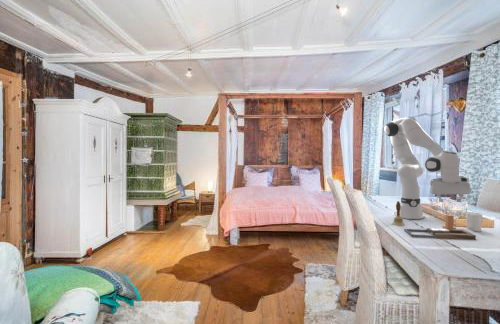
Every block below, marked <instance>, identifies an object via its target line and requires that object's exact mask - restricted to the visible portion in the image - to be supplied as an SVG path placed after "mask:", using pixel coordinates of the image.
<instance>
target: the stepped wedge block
mask: <svg viewBox="0 0 500 324" xmlns="http://www.w3.org/2000/svg"><path fill="white" fill-rule="evenodd" d="M454 217H455V216H454V215H453V214H445V216H444V219H445V220H444V225H442V229H457V228H456V227H455V226H454Z"/></svg>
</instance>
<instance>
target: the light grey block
mask: <svg viewBox="0 0 500 324" xmlns="http://www.w3.org/2000/svg"><path fill="white" fill-rule="evenodd" d="M438 229H439V230H441V233H450V231H449V230H447V229H443V228H438Z"/></svg>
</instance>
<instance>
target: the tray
mask: <svg viewBox="0 0 500 324" xmlns="http://www.w3.org/2000/svg"><path fill="white" fill-rule="evenodd" d="M403 230H404V232H405V233H406V234H407V235H409V236H410V237H411V238H425V239H427V238H428V239H429V238H431V239H437V238H436V235H431V234H413V233H415V232H416V233H417V232H418V233H428V232H427V229H421V228H419V229H418V228H417V229H416V228H404V229H403Z"/></svg>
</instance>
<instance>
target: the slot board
mask: <svg viewBox="0 0 500 324" xmlns="http://www.w3.org/2000/svg"><path fill="white" fill-rule="evenodd" d="M430 228H431V227H429V228H428V227H427V228H426V230H427V232H426V233H428V235H431V234H430ZM434 229H437V228H436V227H435V228H434ZM447 230H449V231H450V233H434V235H436V238H435V239H436V240H437V239H440V240H442V239H444V240H467V241H477V235H475V234H474V233H471V232H469V231H468V230H465V228H464V229H463V228H461V229H459V228H456V229H447Z"/></svg>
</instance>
